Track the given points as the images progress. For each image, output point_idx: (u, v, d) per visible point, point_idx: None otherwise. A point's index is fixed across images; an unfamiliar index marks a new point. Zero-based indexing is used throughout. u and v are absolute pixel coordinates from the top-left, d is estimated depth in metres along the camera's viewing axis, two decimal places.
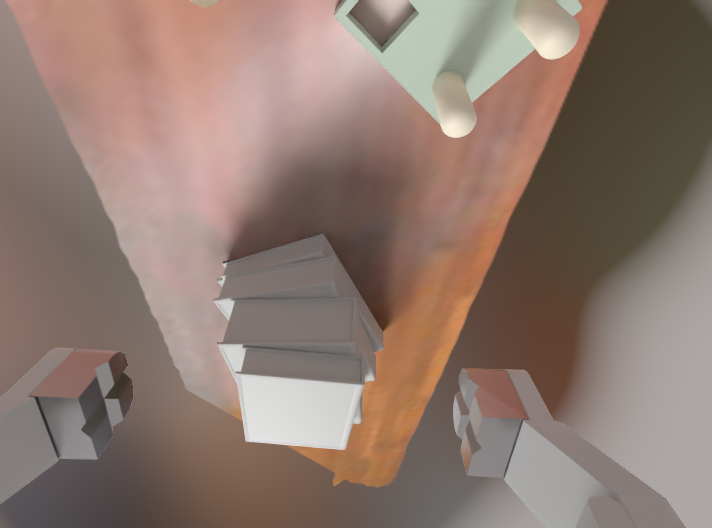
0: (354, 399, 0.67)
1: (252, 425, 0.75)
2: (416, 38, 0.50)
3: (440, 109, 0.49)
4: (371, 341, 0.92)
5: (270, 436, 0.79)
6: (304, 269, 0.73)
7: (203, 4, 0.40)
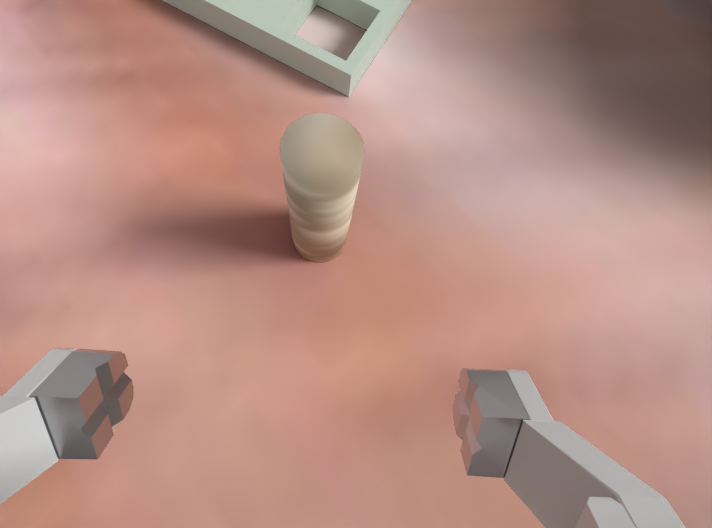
0: None
1: None
2: None
3: None
4: None
5: None
6: None
7: (359, 145, 0.20)
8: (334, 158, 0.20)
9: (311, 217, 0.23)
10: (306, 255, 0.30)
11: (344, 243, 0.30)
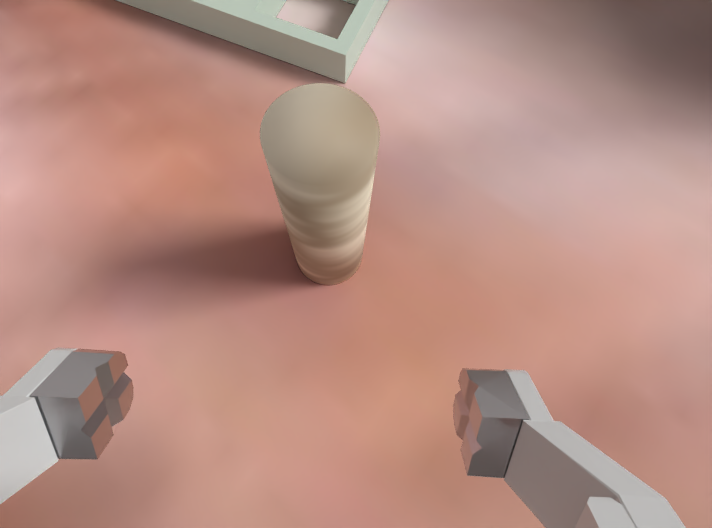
0: None
1: None
2: None
3: None
4: None
5: None
6: None
7: (371, 120, 0.14)
8: (338, 142, 0.14)
9: (315, 230, 0.17)
10: (315, 278, 0.24)
11: (360, 258, 0.24)
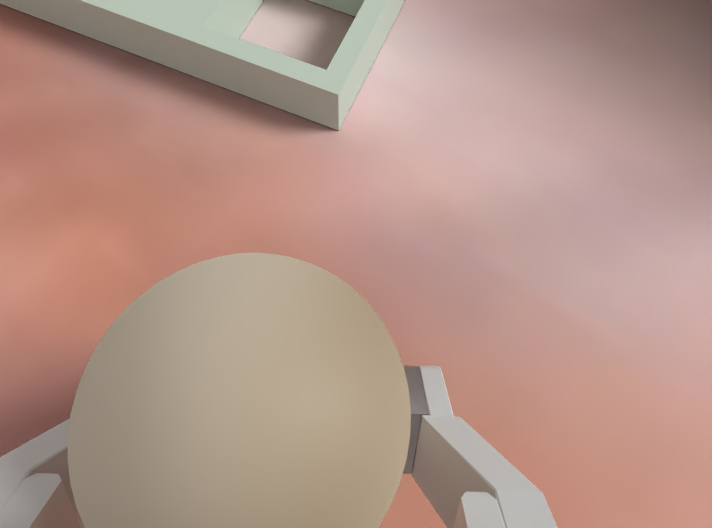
0: None
1: None
2: None
3: None
4: None
5: None
6: None
7: (387, 370, 0.05)
8: (294, 447, 0.05)
9: None
10: None
11: None
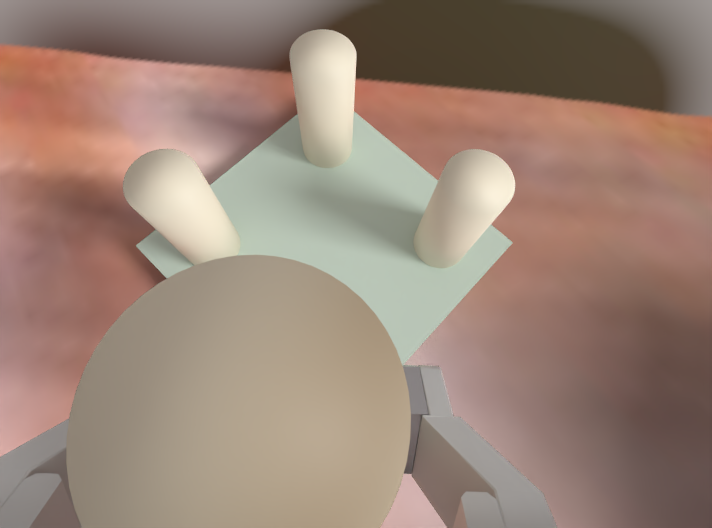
0: None
1: None
2: (364, 301, 0.30)
3: (462, 225, 0.24)
4: None
5: None
6: None
7: (387, 372, 0.05)
8: (294, 450, 0.05)
9: None
10: None
11: None
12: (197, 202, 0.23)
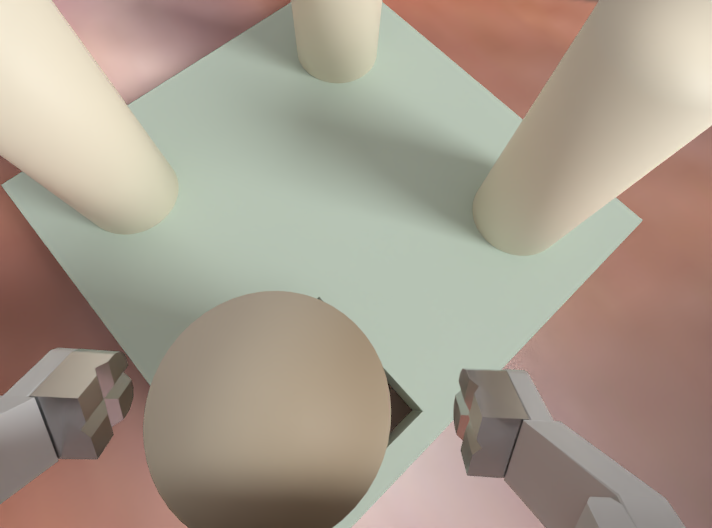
0: None
1: None
2: (382, 303, 0.17)
3: (618, 149, 0.11)
4: None
5: None
6: None
7: (374, 379, 0.07)
8: (306, 435, 0.07)
9: None
10: None
11: None
12: (14, 46, 0.10)
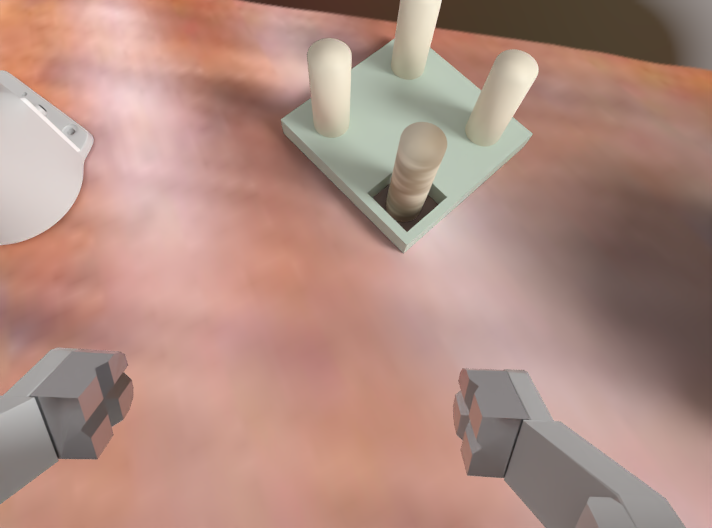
0: None
1: None
2: None
3: (504, 97, 0.39)
4: None
5: None
6: None
7: (443, 137, 0.36)
8: (431, 146, 0.35)
9: (413, 184, 0.38)
10: (398, 217, 0.45)
11: None
12: (348, 69, 0.38)
